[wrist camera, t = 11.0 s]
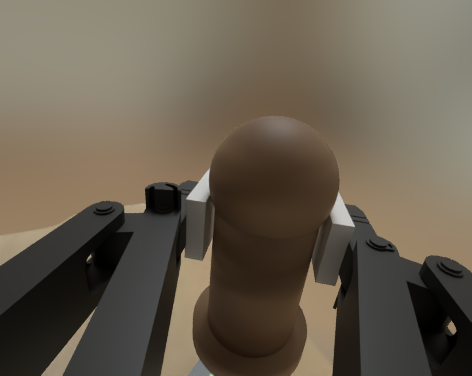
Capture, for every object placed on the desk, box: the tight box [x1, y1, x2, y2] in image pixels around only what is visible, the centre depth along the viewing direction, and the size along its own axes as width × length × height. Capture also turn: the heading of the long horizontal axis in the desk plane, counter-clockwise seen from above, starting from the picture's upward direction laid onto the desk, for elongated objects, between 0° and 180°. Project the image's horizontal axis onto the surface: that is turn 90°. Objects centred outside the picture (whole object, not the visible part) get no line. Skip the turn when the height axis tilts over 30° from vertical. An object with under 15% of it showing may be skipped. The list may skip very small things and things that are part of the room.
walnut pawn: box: [193, 116, 339, 376], centre depth 11 cm, size 6×6×11 cm
